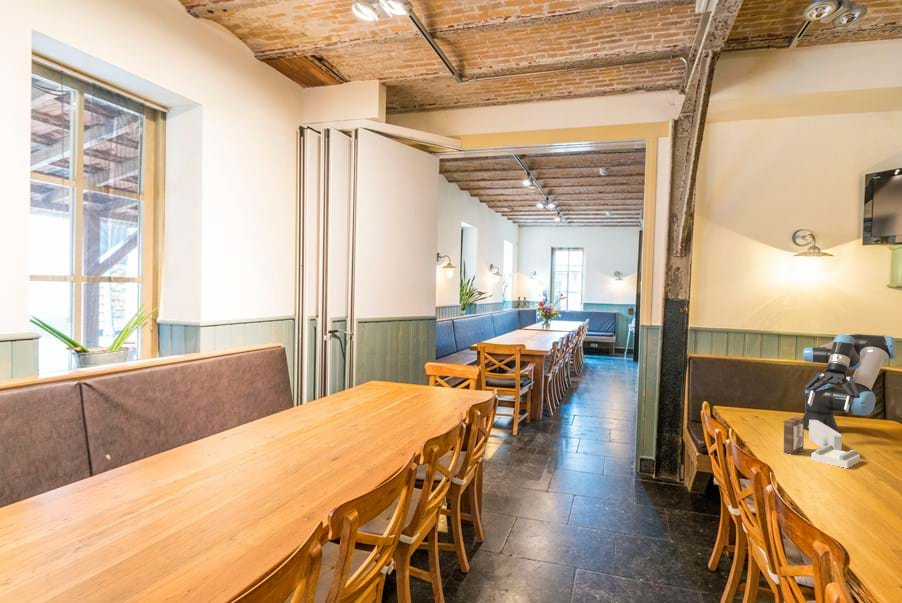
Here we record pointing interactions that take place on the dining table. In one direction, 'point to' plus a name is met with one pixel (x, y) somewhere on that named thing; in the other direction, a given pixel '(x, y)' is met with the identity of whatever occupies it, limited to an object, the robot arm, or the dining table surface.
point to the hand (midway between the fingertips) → (827, 407)
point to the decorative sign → (824, 435)
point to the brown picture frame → (793, 435)
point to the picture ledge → (835, 457)
